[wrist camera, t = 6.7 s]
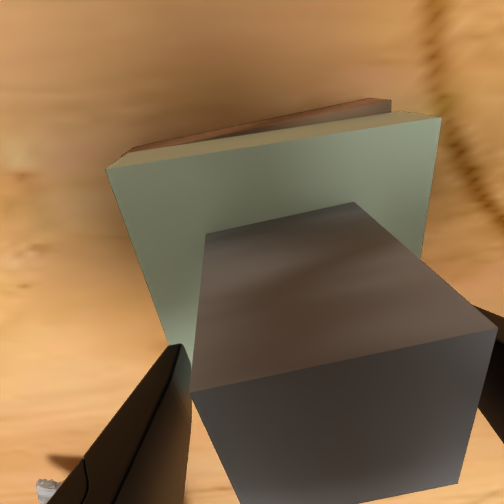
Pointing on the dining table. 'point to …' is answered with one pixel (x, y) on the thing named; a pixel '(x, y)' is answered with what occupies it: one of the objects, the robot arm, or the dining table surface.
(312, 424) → the grey block
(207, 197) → the top block
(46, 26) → the dining table surface
